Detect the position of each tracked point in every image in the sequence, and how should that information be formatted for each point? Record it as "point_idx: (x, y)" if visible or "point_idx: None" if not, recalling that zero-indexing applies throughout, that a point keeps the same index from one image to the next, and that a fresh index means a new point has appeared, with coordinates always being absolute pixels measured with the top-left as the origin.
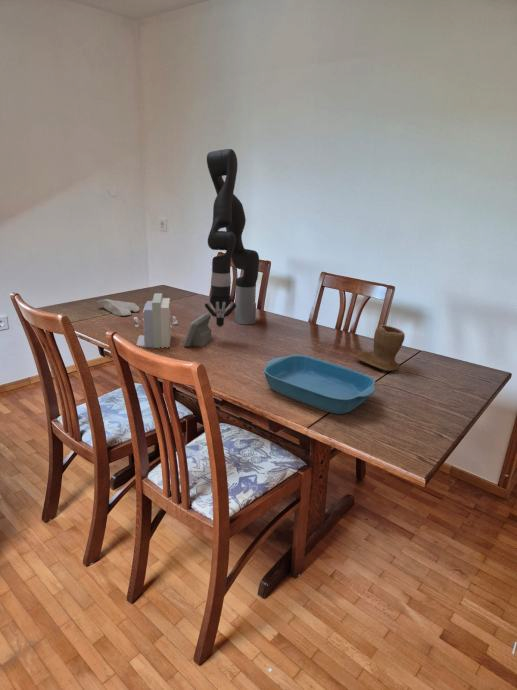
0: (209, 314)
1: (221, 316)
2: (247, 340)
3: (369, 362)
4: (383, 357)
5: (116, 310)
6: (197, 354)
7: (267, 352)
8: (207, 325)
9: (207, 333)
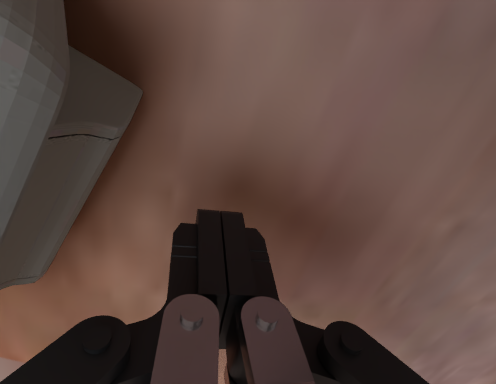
0: (14, 121)
1: (232, 378)
2: (420, 152)
3: None
4: None
5: None
6: (48, 311)
7: (412, 312)
8: (57, 130)
9: (83, 201)
